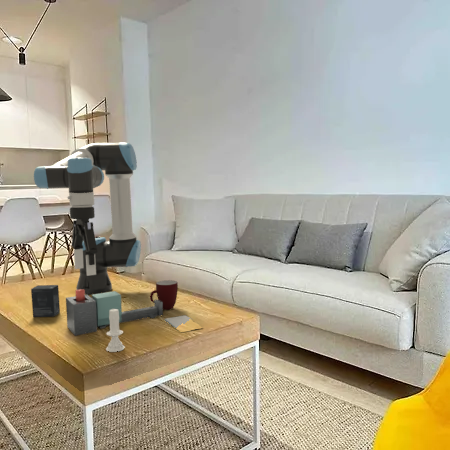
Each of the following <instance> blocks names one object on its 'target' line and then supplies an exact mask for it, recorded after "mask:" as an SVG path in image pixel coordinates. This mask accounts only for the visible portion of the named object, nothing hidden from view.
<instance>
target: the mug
mask: <svg viewBox="0 0 450 450" xmlns="http://www.w3.org/2000/svg"><path fill="white" fill-rule="evenodd" d="M178 289H179V285H178V281H177V280H172V279H169V280H159V281H156V282H155V289H154V290H152V291H151V292H150V295H149V300H150V302H151V303H153V304H154V300H155V299H154V297H153V296H154V294H156V296H157V300H160V301H162V302H163V311H170V309H171V310H173V308H174V307H175V305H176V302H177V299H178V291H179V290H178Z"/></svg>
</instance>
